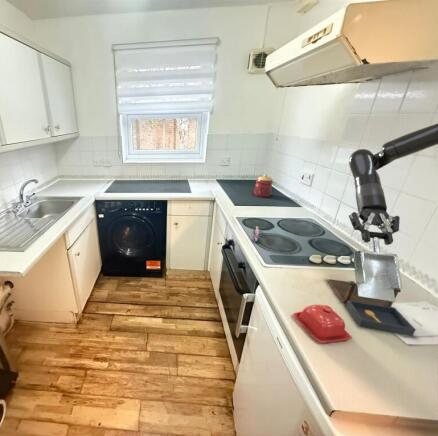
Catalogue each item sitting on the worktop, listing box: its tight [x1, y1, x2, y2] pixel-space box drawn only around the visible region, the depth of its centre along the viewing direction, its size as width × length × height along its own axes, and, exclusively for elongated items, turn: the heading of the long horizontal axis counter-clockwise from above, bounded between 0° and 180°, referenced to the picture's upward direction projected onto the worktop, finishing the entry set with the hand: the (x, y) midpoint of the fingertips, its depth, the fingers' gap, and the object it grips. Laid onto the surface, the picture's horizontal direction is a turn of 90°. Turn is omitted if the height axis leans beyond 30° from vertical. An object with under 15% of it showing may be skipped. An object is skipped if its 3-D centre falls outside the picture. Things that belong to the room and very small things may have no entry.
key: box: [365, 310, 382, 323], centre depth 76 cm, size 6×3×1 cm, turn 178°
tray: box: [345, 300, 416, 337], centre depth 76 cm, size 13×9×2 cm
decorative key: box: [253, 225, 260, 243], centre depth 130 cm, size 7×1×20 cm
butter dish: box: [292, 304, 353, 344], centre depth 71 cm, size 12×12×8 cm
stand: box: [327, 278, 402, 307], centre depth 85 cm, size 13×14×9 cm
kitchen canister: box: [253, 174, 274, 198], centre depth 197 cm, size 13×13×18 cm
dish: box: [352, 230, 403, 303], centre depth 79 cm, size 22×10×5 cm
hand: (378, 242), depth 79 cm, fingers closed on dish, 5 cm apart
